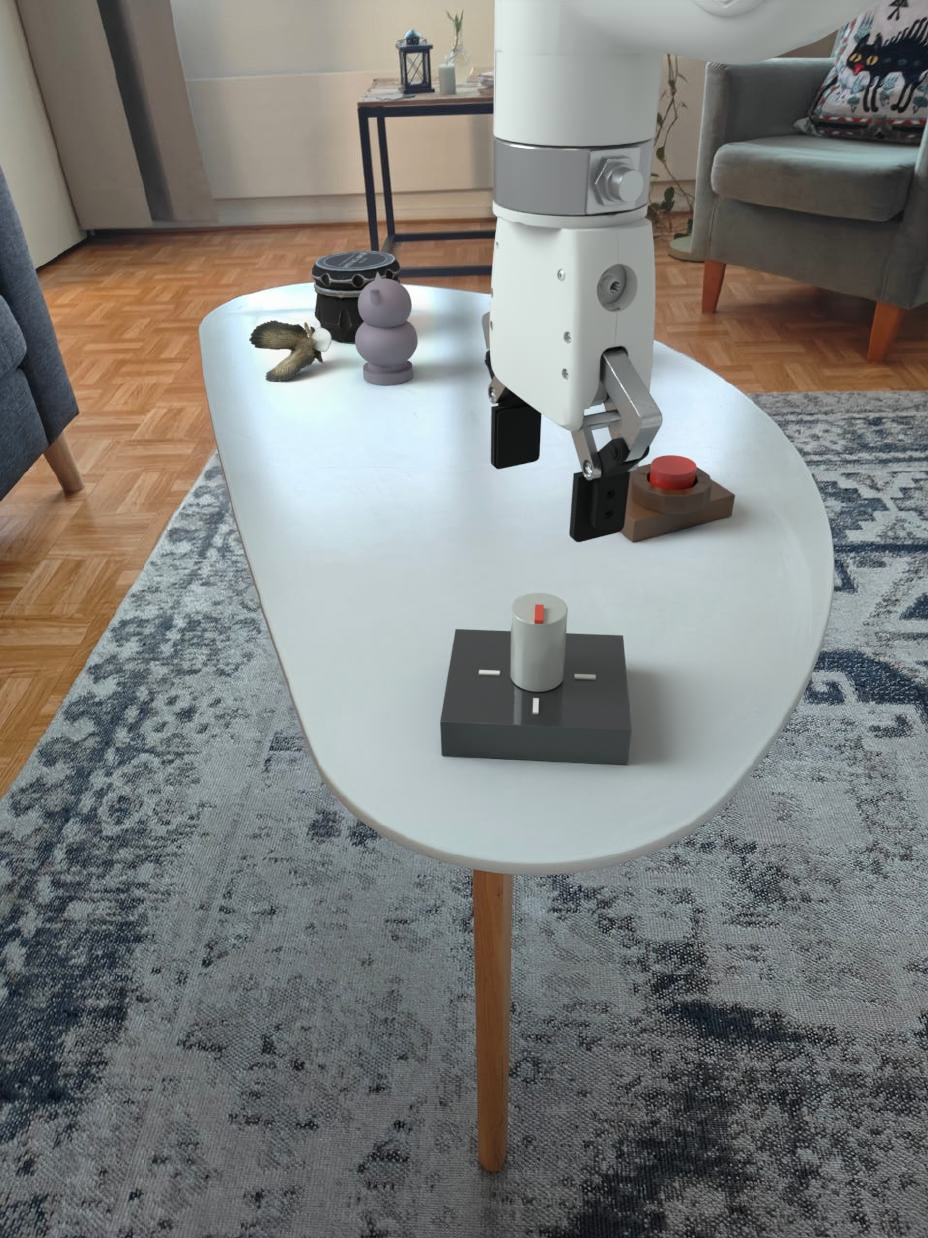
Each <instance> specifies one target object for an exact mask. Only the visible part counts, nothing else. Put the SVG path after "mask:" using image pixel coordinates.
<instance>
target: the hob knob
mask: <svg viewBox="0 0 928 1238" xmlns="http://www.w3.org/2000/svg"><path fill="white" fill-rule="evenodd" d="M568 610H569V608H568V606H567V604H566V602H565V601H564V600H563V599H562V598H561V597H559V596H558V595H557V596H556V595H554V594H551V593H545V592H530V593H525V594H523V595H520V596H518V597H517V598H515V600H514V601H513V602H512V603H511V607H510V631H511V651H510V676H511V679H512V681H513V682H514V683H515V684H516V685H517V686H518V687H520V688H522V689H525V690H528V691H533V692H543V691H548V690H551V689H554V688H556V687H557V686H558V685H560V683H561V682H562V681H563V678H564V666H565V649H566V633H568V632H567V631H568V630H567V629H568V615H569V613H568Z"/></svg>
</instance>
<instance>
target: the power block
mask: <svg viewBox="0 0 928 1238" xmlns="http://www.w3.org/2000/svg"><path fill="white" fill-rule="evenodd" d="M650 470H651V463H647V464H643V465H640V466H639V465H638V468H637V469H636V470H633V471H630V478H629V488H628V497H627V506H626V515H625V524H624V527H623V529H622V530H621V531H620V532H619V533H621V534H622V535H623V536H624V537H625V538H626V539H628V540H629V541H630V542H632V543H635V542H638V541H642V540H647V539H650V538H654V537H657V536H660V535H661V536H662V535H665V534H668V533H672V532H676V531H679V530H683V529H687V528H690V527H691V528H692V527H694V526H697V525H701V524H705V523H709V522H712V521H716V520H719V519H725V518H727V517H730V516H732V515H733V511H734V504H735V499H736V494H735V493H733V492H732V491H730V490H728V489H727V488H726V487H724V486H723V485H721V484H719V483H718V482H716V481H715V480H713V479H711V475H710V474H709V473H707V472H705V470H703V469H701V468H699V467H698V466H697V468H696V475H695V482H694V486H693V487H692V488H688V489H684V490H667V489H663V488H659V487H655V486H654V485H652V484H651V483H650V480H649V479H650Z"/></svg>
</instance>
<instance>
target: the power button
mask: <svg viewBox="0 0 928 1238" xmlns="http://www.w3.org/2000/svg"><path fill="white" fill-rule="evenodd" d="M650 464H651V470H650V479H649V480H650V483H651V484H652V485H654V486H655V487H659V488H663V489H667V490H684V489H688V488H692V487H693V486H694V482H695V475H696V468H697V467H698V466H697V464H696V462H695V461H694V460H693V459H690V458H688V457H686V456H681V455H675V454H671V455H670V454H667V455H662V456H661V455H660V456H657V457H655V458H654V459H653V460H652V461H651V462H650Z"/></svg>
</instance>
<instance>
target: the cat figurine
mask: <svg viewBox="0 0 928 1238" xmlns="http://www.w3.org/2000/svg"><path fill="white" fill-rule="evenodd" d="M412 307H413V304H412V299H411V295H410V293H409V290H408V289H407V288H406V287H405V286H404V285H403V284H401V282H400V283H398V282H397V281H394V280H391V279H382V278H381V277H380V275H379V273H378V271H377V274H376V277H375V280H374V281H372V282H371V283H369V284H368V285H366V286H365V288H364V289H363V290H362V291H361V293H360V295H359V299H358V309H359V313H360V316H361V318H362V319H363V321H364V322H363V323H362V324H361V326H360V327H359V328H358V330H357V332H356V336H355V343H354V344H355V349H356V352H357V353H358V354H359V356H360V357H361V358H362V359H363V360H364V361H366V362H365V363H364V364H363V365H362V374H363V380H364V381H365V382H367V383H369V384H371V385H376V386H396V385H401V384H404V383H406V382H408V381H410V380H411V379H412V378H413V377H414V367H413V366H414V365H413V363H412V361H410V360H409V359H411V358H412V357H413V356H414V353H415V352H416V350H417V348H418V344H419V338H418V333H417V331H416V328H415V327H414V325H413V324H412V323H411V322H410V321H409V320H408V319H409V317H410V316H411V314H412Z"/></svg>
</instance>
